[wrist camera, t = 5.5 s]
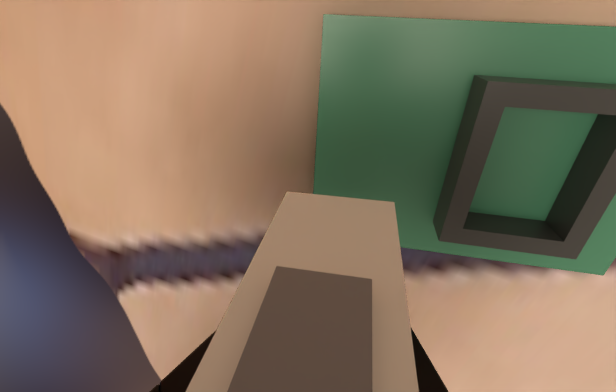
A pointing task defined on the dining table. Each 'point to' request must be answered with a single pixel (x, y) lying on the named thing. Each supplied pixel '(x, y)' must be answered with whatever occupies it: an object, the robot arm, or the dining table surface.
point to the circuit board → (475, 134)
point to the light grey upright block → (317, 306)
